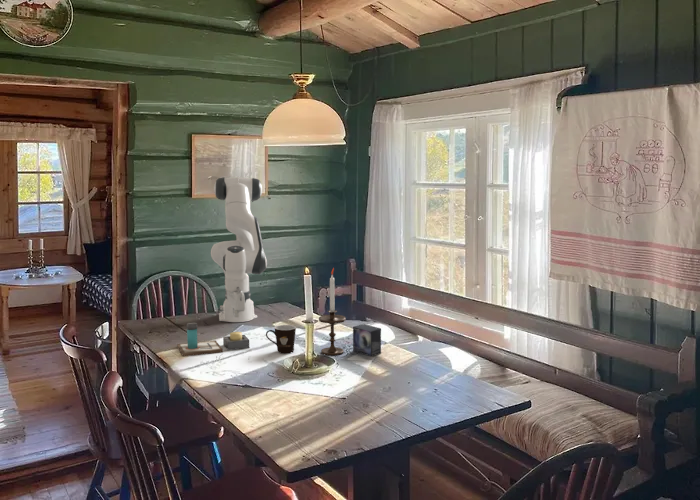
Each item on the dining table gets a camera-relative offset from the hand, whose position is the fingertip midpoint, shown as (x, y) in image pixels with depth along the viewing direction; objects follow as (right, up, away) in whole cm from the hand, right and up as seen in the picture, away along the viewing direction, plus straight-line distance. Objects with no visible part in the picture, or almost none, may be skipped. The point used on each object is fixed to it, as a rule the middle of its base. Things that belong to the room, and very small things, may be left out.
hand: (235, 316), depth 287 cm
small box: (+55, -13, -13) cm, 58 cm away
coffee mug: (+21, -13, -11) cm, 27 cm away
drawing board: (-13, -13, -9) cm, 20 cm away
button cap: (+1, -10, -4) cm, 11 cm away
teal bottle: (-16, -12, -11) cm, 22 cm away
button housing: (+1, -12, -4) cm, 13 cm away
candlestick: (+41, -13, -13) cm, 45 cm away
